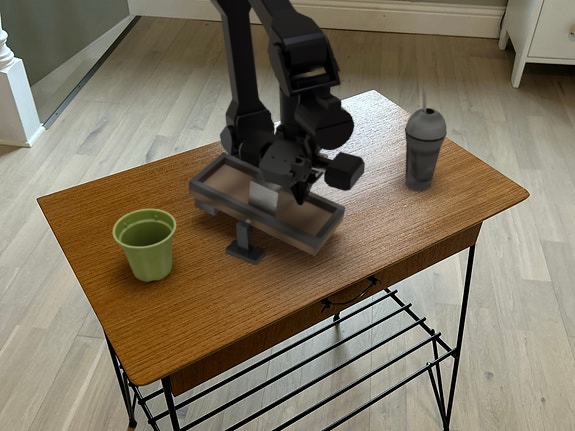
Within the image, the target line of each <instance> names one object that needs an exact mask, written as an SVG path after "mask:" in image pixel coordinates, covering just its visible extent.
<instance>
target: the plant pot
mask: <svg viewBox="0 0 575 431" xmlns="http://www.w3.org/2000/svg"><path fill="white" fill-rule="evenodd" d="M176 230H177V222H176V219H175V217H174V216H173V215H172V214H171V213H169V212H168V211H165V210H162V209H159V208H158V209H157V208H142V209H136V210H134V211H130V212H129V213H126V214H124V215H123V216H121V217H120V218H119V219H118V220H117V221H116V222H115V224H114V225H113V228H112V236H113V239H114V241H115V242H116V243H117V244H118V245H119V246H120V247H121V249H123V253H124V255H125V257H126V259H127V261H128V265H129V267H130V268H131V271H132V273H133V275H134V278H137V279H138V281H142V282H144V283H145V282H147V283H149V282H152V281H161V280H163V279H164V278H167V276H168V275H169V274H170V273H171V271H172V268H173V240H174V239H173V238H174V236H175V235H174V234H175V232H176Z"/></svg>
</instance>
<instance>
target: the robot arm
mask: <svg viewBox="0 0 575 431" xmlns="http://www.w3.org/2000/svg"><path fill="white" fill-rule="evenodd" d="M209 1H210V3H211V4H212V6H213V7H214V8H215V9H216V11H217V12H218V13H219V15H220V20H221V21H220V22H221V26H222V27H221V28H222V34H223V42H224V47H225V48H224V49H225V57H226V63H227V71H228V77H229V85H230V92H231V101H230V102H229V104H228V107H227V110H226V112H225V114H224V115H225V126H224V128H222V130H221V132H220V134H219V139H220V143H221V147H222V148H223V149H224V150H225V153H226V154H229V155H231V156H233V157H235V158H237V159H240V160H241V161H244V162H246V163H249V164H251V165H253V166H255V167H257V168H260V170H261V173H262V176H263V179H264V181H265V182H267V183H273V184H276V185H279V186H281V187H283V188H290V189H291V191H292V193H293V195H294V198H295V200H296V202H297V204H298V205H301V206H302V205H303V204H304V202H305V200H306V198H307V196H308V194H309V192H310V191H311V190H312V187H313V186H314V184H316V183H317V182H318V181H319V180H320V178H321V177H322V176H323V181H324V182H325V184H326V185H327V186H328V187H330V188H333V189H337V190H340V191H343V192H348V191H351V190H352V188H353V187H354V186H355V185H356V184H357V182H358V181H359V180H360V179H361V177H362V176H363V175H364V174H365V168H366V163H365V160H364V159H363V158H362V156H359V155H354V154H350V153H347V152H344V151H339V152H338V153H337V154H336V155H335V156H334V158H333V159H332V158H331V159H330V158H329V154H327V153H323V152H322V150H324V151H335V150H337V149H339V148H341V147H343V146H344V145H345V144H346V143H347V142H348V141H349V140H350V139H351V137H352V135H353V133H354V129H355V121H354V118H353V116H352V114H351V113H350V112H349V111H348V110H347V109H345V108H344V107H343V106H342V100H341V99H340V98H339V97H338V96H335V95H334V94H332V93H331V88H335V87H338V86H340V85H342V84H341V79H340V75H339V73H340V71H341V69H340V67H339V64H338V61H337V59H336V56H335V54H334V51H333V48H332V46H331V42H330V40H329V37H328V36H327V34H325V31H323V30H322V28H321V27H320V26H319V25H318V23H316V22H315V20H314V19H313V18H311V17H310V16H307V15H305V14H302V13H301V12H299V11H297V10H296V9H295V7H294V6H293V4H292V2H291V1H290V0H209ZM252 10H253V11H254V13H255V15H256V16H257V18H258V19H259V22H260V23H261V25H262V27H263V29H264V31H266V34H267V37H268V42H267V49H266V52H267V54H268V59H269V63H270V65H271V68H272V70H273V74H274V77H275V78H276V80H277V82H278V91H279V92H278V94H279V122H280V123H279V125H277V126H276V127H275V124H276V123H274V121H273V119H272V112H271V111H270V110H269V109H268V107H267V106H265V105H264V103H263V102H262V101H261V100H260V95H259V86H258V78H257V68H256V60H255V51H254V43H253V34H252V26H251V18H250V12H251V11H252ZM321 70H324V72H323V73H319V74H314V75H311V74H309V73H313V72H316V71H321Z"/></svg>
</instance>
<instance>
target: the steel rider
mask: <svg viewBox="0 0 575 431" xmlns="http://www.w3.org/2000/svg"><path fill="white" fill-rule="evenodd" d="M293 200H294V195H293V193H292V191H291V189H290V188H283V187H281V186H279V185H276V184H273V183H267V182H265V181H264V179H263V176H262V173H261V171H260V172H259V173H258V174H257V175H256V176H255V177H254V178H253V179H252V180H251V181H250V190H249V201H248V205H250V206H252V207H254V208H256V209H259V210H261V211H263V212H265V213H267V214H269V215H271V216H273V217H275V218H278V217H279V216H280V215H281V214H282V213H283V212H284V210H285V209H286V208H287V207H288V206H289V205H290V204H291V203H292V201H293Z"/></svg>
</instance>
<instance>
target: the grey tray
mask: <svg viewBox="0 0 575 431" xmlns="http://www.w3.org/2000/svg"><path fill="white" fill-rule="evenodd" d="M260 171H261V170H260V168H257V167H255V166H253V165H251V164H249V163H246V162H244V161H241V160H240V159H237V158H235V157H233V156H231V155H229V154H228V153H227V152H222V153H220V154H219V155H218V156H217V157H215V159H213V160H212V161H210V163H209V164H207V165H206V166H205V167H203V169H201V170H200V171H199V172H198V173H197V174H196V175H194V176H193V177H192V178H190V180H188V196H190V197H191V198H194V207H195V208H197V209H199V210H201V211H203V212H205V213H207V214H210V215H212V216H214V217H215V215H217V214H218V213H219V212H223V213H224V214H227V215H228V216H231V217H234V218H235V219H238V220H239V221H240V220H241V221H244V222H247V223H250V224H251V227H253V228H256V229H258V230H260V231H262V232H264V233H265V234H267V235H270V236H271V237H274V238H277V239H278V240H280V241H283V242H285V243H286V244H289V245H290V246H293V247H295V248H297V249H299V250H301V251H303V252H306V253H307V254H309V255H311V256H314V257H315V256H316V255H317V254H318V253H319V251H320V250H321V249H322V248H323V247H324V245H325V244H326V242H327V241H328V240H329V239H330V238H331V236H332V235H333V234H334V232H335V231H336V230H337V228H338V227H339V225H340V224H341V223H342V222H343V221H344V216H345V211H346V206H344V205H341V204H340V203H337V202H336V201H333V200H331V199H328V198H326V197H323V196H322V195H319V194H317V193H315V192H313V191H311V190H310V192H309V194H308V196H307V198H306V200H305V202H304V204H303V205H302V206H301V205H298V204H297V202H296V200H295V198H294V200H293V201H292V203H291V204H290V205H289V206H288V207H287V208H286V209H285V210H284V212H283V213H282V214H281V215H280V216H279V217H278V218H275V217H273V216H271V215H269V214H267V213H265V212H263V211H261V210H259V209H256V208H254V207H252V206H250V205H248V201H249V190H250V181H251V180H252V179H253V178H254V177H255V176H256V175H257V174H258V173H259V172H260Z"/></svg>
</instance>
